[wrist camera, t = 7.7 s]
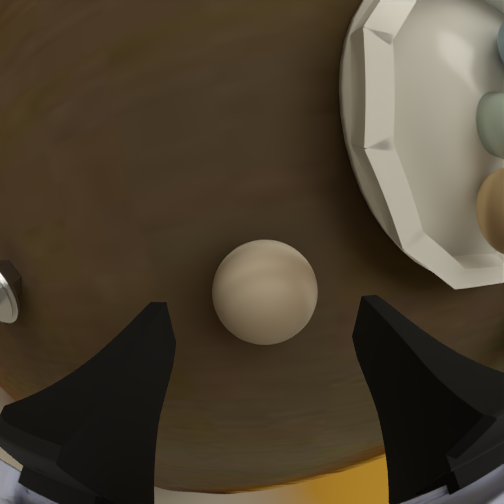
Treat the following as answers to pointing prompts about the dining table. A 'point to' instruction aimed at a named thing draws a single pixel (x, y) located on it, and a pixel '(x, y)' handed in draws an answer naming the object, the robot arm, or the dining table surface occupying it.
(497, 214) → the bead oak
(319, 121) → the dining table surface
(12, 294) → the screw
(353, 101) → the tray
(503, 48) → the bead blue
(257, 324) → the bead birch
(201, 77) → the dining table surface
